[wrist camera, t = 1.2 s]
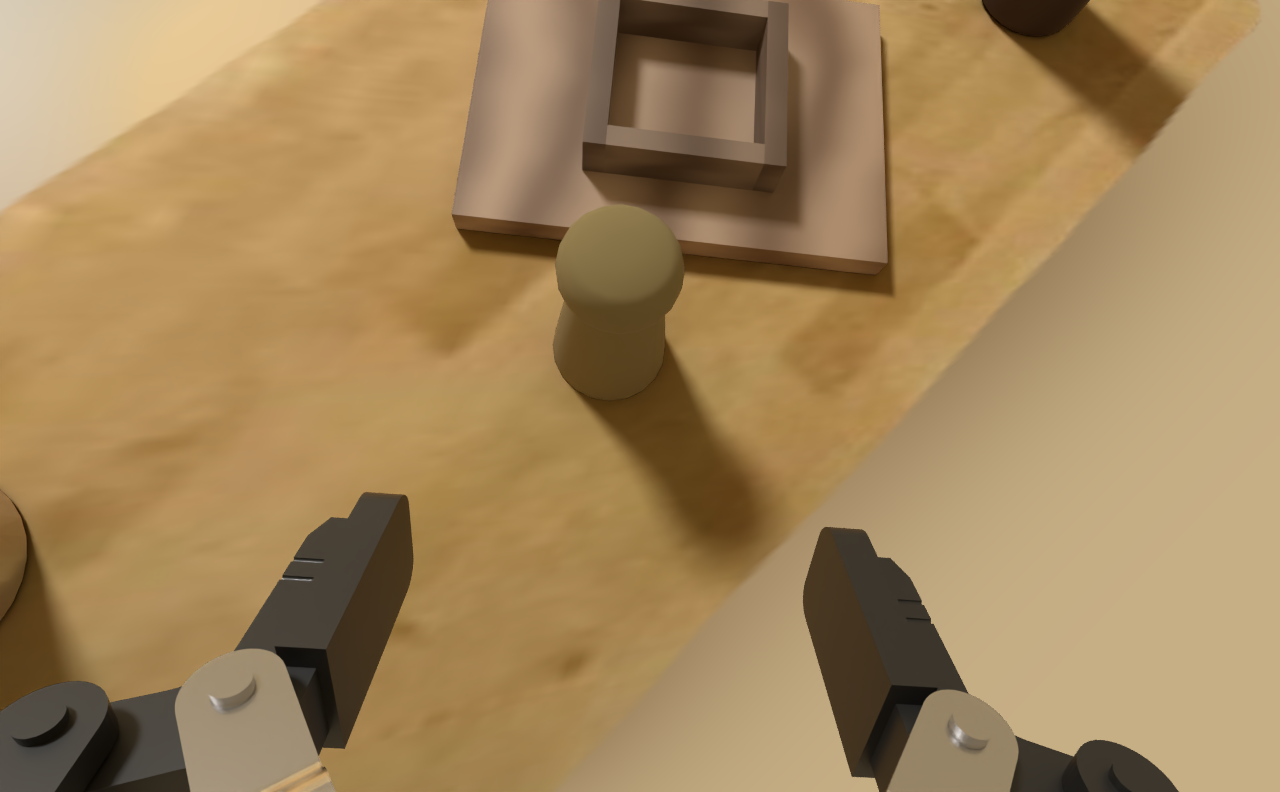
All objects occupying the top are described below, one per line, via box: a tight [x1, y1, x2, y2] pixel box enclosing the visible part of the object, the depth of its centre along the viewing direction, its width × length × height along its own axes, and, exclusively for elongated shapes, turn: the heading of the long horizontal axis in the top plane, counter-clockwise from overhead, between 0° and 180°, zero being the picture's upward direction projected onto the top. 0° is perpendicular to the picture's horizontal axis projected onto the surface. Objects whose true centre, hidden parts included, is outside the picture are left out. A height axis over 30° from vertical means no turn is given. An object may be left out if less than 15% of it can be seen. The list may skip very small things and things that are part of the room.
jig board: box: [452, 0, 888, 275], centre depth 38 cm, size 24×18×4 cm
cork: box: [553, 204, 685, 401], centre depth 30 cm, size 6×6×11 cm
